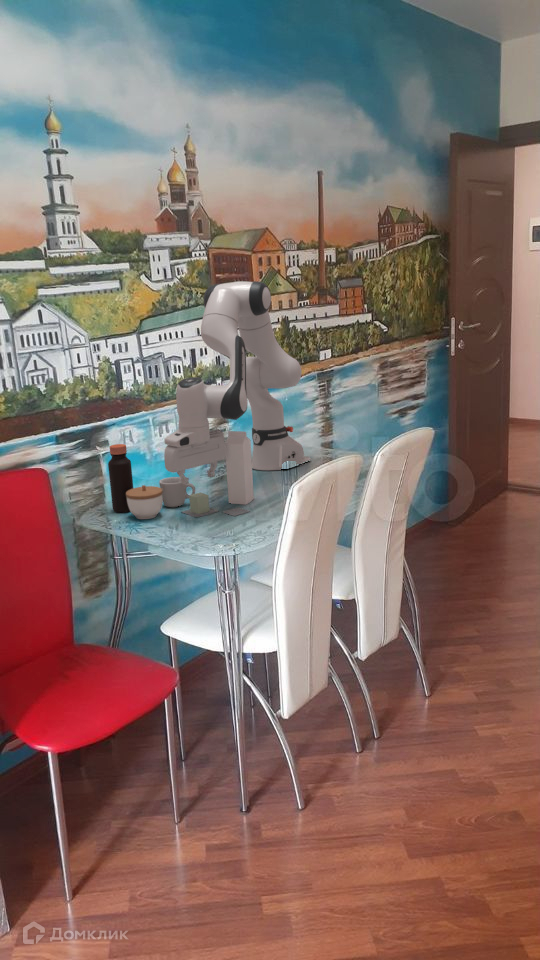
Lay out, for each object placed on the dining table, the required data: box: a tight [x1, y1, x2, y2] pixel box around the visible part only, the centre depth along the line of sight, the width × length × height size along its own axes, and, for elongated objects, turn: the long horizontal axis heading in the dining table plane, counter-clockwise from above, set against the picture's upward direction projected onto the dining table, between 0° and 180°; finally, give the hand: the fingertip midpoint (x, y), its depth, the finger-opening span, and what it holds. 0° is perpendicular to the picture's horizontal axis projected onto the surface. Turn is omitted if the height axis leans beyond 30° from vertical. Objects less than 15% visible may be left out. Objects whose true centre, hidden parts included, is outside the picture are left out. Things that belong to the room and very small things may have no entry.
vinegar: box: [107, 443, 134, 514], centre depth 251 cm, size 7×7×20 cm
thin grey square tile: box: [181, 507, 219, 518], centre depth 247 cm, size 8×8×1 cm
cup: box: [159, 476, 196, 508], centre depth 254 cm, size 11×8×8 cm
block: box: [188, 492, 210, 514], centre depth 246 cm, size 4×4×5 cm
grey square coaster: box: [222, 506, 251, 517], centre depth 245 cm, size 6×6×1 cm
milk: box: [225, 430, 255, 505], centre depth 253 cm, size 6×6×22 cm
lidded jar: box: [126, 484, 164, 520], centre depth 245 cm, size 11×11×9 cm
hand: (198, 480), depth 245 cm, fingers open, 8 cm apart
